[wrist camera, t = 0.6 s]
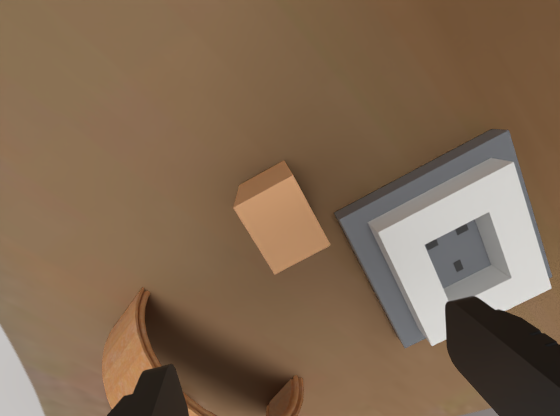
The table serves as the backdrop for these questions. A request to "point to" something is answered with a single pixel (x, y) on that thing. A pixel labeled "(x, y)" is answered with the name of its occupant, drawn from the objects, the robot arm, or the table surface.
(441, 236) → the socket plate
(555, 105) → the table surface
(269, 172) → the cardboard parcel
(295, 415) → the arch
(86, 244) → the table surface
